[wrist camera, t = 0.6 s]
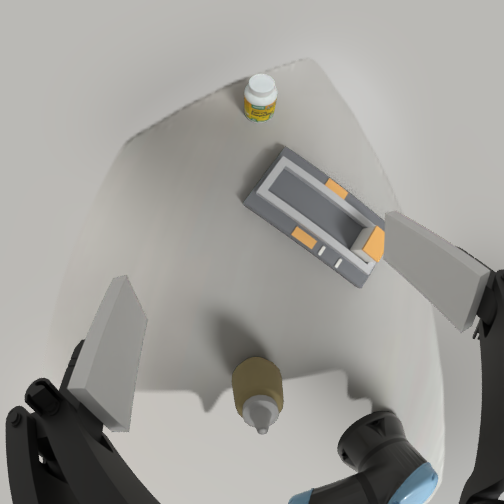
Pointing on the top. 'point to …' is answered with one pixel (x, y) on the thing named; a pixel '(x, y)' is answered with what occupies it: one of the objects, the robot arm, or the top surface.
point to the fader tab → (369, 244)
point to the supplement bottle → (260, 98)
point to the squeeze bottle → (258, 392)
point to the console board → (314, 213)
